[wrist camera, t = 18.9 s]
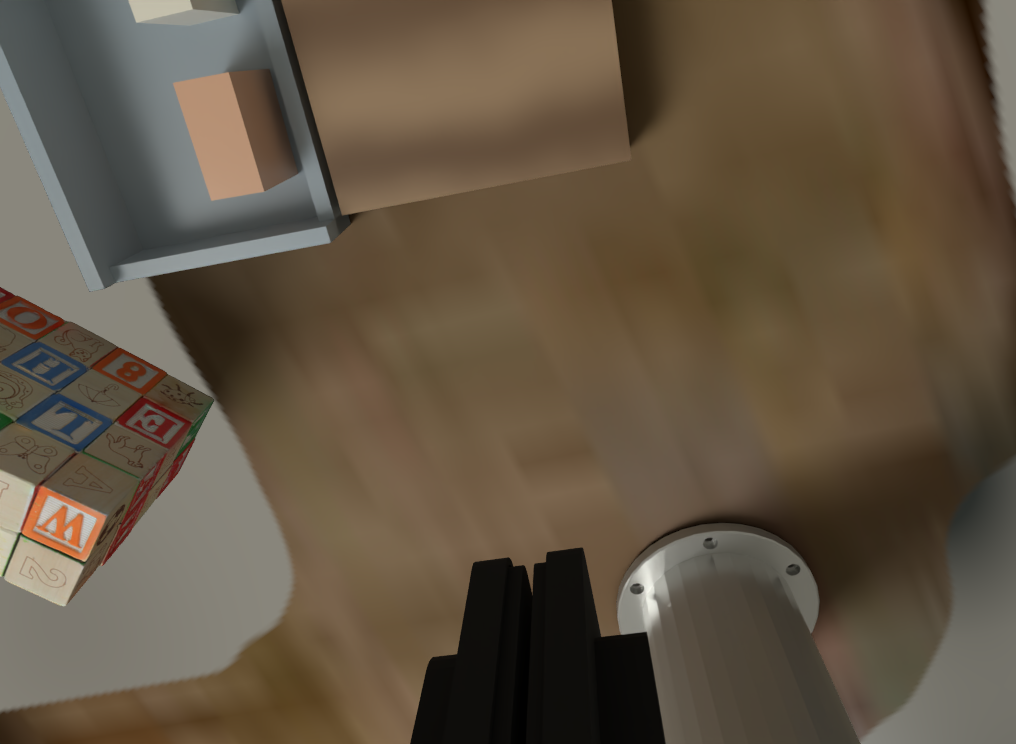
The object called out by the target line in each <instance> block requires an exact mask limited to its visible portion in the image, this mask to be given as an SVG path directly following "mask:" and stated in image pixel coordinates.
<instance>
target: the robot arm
mask: <svg viewBox="0 0 1016 744" xmlns="http://www.w3.org/2000/svg"><path fill="white" fill-rule="evenodd" d="M616 602H617V617H618V623H619V629H620V633H621V635H615V636H606V637H601V634H600V629H599V624H598V619H597V614H596V609H595V604H594V599H593V594H592V589H591V584H590V579H589V574H588V569H587V564H586V559H585V554H584V551H583V548H575V549H567V550H560V551H553V552H547V555H546V562H544V563H537V564H534V575H533V596H532V592H531V587H530V583H529V579H528V575H527V571H526V568H525V566H524V565H522V566H515V567H513V564H512V561H511V559H510V558H501V559H494V560H487V561H479V562H475V563H473V566H472V571H471V577H470V583H469V589H468V595H467V600H466V606H465V612H464V618H463V624H462V629H461V635H460V641H459V647H458V653H457V654H456V655H447V656H439V657H432V659H431V660H430V661H429V664H428V667H427V670H426V674H425V679H424V683H423V688H422V693H421V697H420V702H419V706H418V711H417V715H416V720H415V725H414V729H413V734H412V738H411V743H410V744H861V743H860V741H859V739H858V737H857V734H856V732H855V730H854V728H853V726H852V723H851V721H850V719H849V717H848V714H847V712H846V710H845V708H844V706H843V703H842V701H841V699H840V697H839V695H838V692H837V690H836V688H835V686H834V684H833V681H832V679H831V677H830V675H829V672H828V670H827V668H826V666H825V664H824V661H823V659H822V657H821V655H820V653H819V650H818V648H817V646H816V644H815V642H814V639H813V637H812V635H811V634H812V632H813V630H814V627H815V624H816V621H817V618H818V614H819V603H820V600H819V594H818V587H817V584H816V582H815V580H814V577H813V575H812V573H811V571H810V569H809V567H808V566H807V564H806V562H805V561H804V559H803V557H802V556H801V555H800V554H799V553H798V552H797V551H796V550H795V549H794V548H793V547H792V546H791V545H790V544H788V543H787V542H785V541H784V540H782V539H781V538H780V537H778V536H777V535H774V534H772V533H769V532H767V531H765V530H762V529H760V528H756V527H752V526H747V525H743V524H733V523H713V524H702V525H698V526H694V527H690V528H686V529H682V530H680V531H677V532H675V533H673V534H670V535H668V536H665V537H663V538H662V539H660V540H659V541H657V542H656V543H654V544H653V545H651V546H649V547H648V548H647V549H646V550H645V551H644V552H643V553H642V554H640V555H639V556H638V557H637V558H636V559H635V560H634V562H633V563H632V565H631V566H630V567H629V569H628V570H627V571H626V573H625V575H624V577H623V580H622V582H621V584H620V586H619V591H618V596H617V601H616Z"/></svg>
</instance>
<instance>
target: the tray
mask: <svg viewBox="0 0 1016 744" xmlns="http://www.w3.org/2000/svg"><path fill="white" fill-rule="evenodd" d="M235 1H236V4H237V8H238V11H239V14H238V15H233V16H229V17H225V18H220V19H216V20H212V21H208V22H203V23H199V24H195V25H190V26H187V25H169V24H151V23H136V21H135V18H134V15H133V12H132V9H131V7H130V4H129V1H128V0H0V88H1V90H2V92H3V95H4V97H5V99H6V102H7V104H8V106H9V108H10V111H11V113H12V115H13V118H14V120H15V122H16V124H17V127H18V129H19V131H20V134H21V136H22V138H23V140H24V143H25V145H26V147H27V150H28V152H29V154H30V157H31V159H32V161H33V163H34V166H35V168H36V170H37V173H38V175H39V177H40V180H41V182H42V184H43V186H44V189H45V191H46V193H47V196H48V198H49V200H50V202H51V205H52V207H53V209H54V212H55V214H56V216H57V218H58V221H59V223H60V225H61V228H62V230H63V232H64V235H65V237H66V239H67V241H68V244H69V246H70V248H71V251H72V253H73V255H74V257H75V260H76V262H77V264H78V267H79V269H80V271H81V274H82V276H83V278H84V280H85V283H86V285H87V287H88V290H89V292H91V291H96V290H101V289H105V288H107V287H109V286H111V285H112V284H114V283H117V282H123V281H128V280H133V279H139V278H144V277H150V276H155V275H160V274H166V273H171V272H176V271H182V270H187V269H193V268H198V267H203V266H209V265H214V264H219V263H225V262H230V261H235V260H241V259H246V258H252V257H257V256H262V255H268V254H273V253H278V252H284V251H289V250H294V249H300V248H305V247H311V246H316V245H321V244H327V243H331V242H332V241H333V240H334V239H335V238H336V237H337V236H339V235H340V234H341V233H342V232H343V231H344V230H345V229H346V228H347V227H348V226H349V225H350V224H351V223H350V220H349V216H348V214H347V215H342V213H341V210H340V206H339V203H338V199H337V196H336V192H335V189H334V185H333V181H332V178H331V174H330V171H329V167H328V164H327V160H326V157H325V153H324V150H323V146H322V143H321V139H320V136H319V132H318V128H317V125H316V121H315V118H314V114H313V111H312V107H311V104H310V100H309V97H308V93H307V90H306V86H305V83H304V79H303V75H302V72H301V68H300V65H299V61H298V58H297V54H296V51H295V47H294V44H293V40H292V37H291V33H290V30H289V26H288V22H287V19H286V15H285V12H284V8H283V5H282V1H281V0H235ZM259 69H270V73H271V76H272V80H273V84H274V87H275V91H276V94H277V98H278V102H279V105H280V109H281V112H282V116H283V120H284V123H285V127H286V131H287V134H288V138H289V141H290V145H291V149H292V152H293V156H294V159H295V163H296V167H297V170H298V174H297V175H295V176H293V177H292V178H290V179H288V180H286V181H284V182H282V183H280V184H278V185H276V186H274V187H272V188H270V189H269V190H267V191H265V192H260V193H254V194H248V195H242V196H237V197H231V198H225V199H219V200H213V201H211V198H210V195H209V192H208V189H207V186H206V183H205V180H204V177H203V174H202V171H201V168H200V165H199V162H198V158H197V155H196V152H195V149H194V146H193V143H192V140H191V137H190V134H189V131H188V128H187V125H186V122H185V119H184V116H183V113H182V110H181V107H180V104H179V101H178V97H177V94H176V91H175V88H174V85H173V83H175V82H180V81H185V80H190V79H195V78H201V77H206V76H211V75H216V74H221V73H227V72H236V71H248V70H259Z"/></svg>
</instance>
